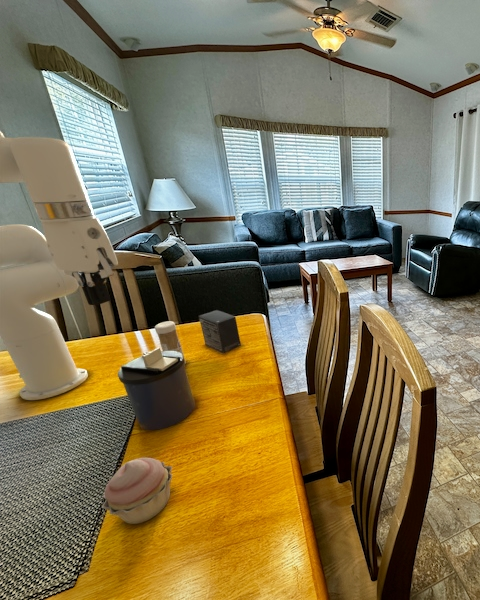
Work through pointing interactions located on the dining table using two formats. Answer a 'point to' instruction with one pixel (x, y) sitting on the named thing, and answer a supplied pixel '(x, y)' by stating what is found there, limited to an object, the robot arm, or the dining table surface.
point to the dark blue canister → (158, 392)
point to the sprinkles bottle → (169, 337)
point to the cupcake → (138, 490)
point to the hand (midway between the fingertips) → (100, 302)
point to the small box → (220, 331)
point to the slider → (157, 360)
